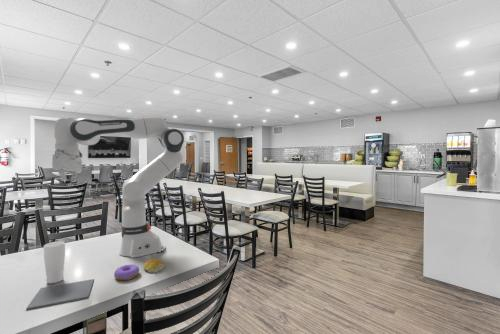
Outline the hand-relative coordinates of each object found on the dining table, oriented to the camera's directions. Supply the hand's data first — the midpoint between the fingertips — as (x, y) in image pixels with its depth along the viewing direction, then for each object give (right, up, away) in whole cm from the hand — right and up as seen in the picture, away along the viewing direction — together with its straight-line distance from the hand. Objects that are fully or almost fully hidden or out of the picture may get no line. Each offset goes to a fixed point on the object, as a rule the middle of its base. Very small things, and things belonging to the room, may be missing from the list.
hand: (68, 181), depth 116 cm
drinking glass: (+6, -39, -16) cm, 43 cm away
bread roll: (+41, -39, -4) cm, 57 cm away
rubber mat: (+16, -39, -25) cm, 50 cm away
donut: (+32, -40, -11) cm, 52 cm away
